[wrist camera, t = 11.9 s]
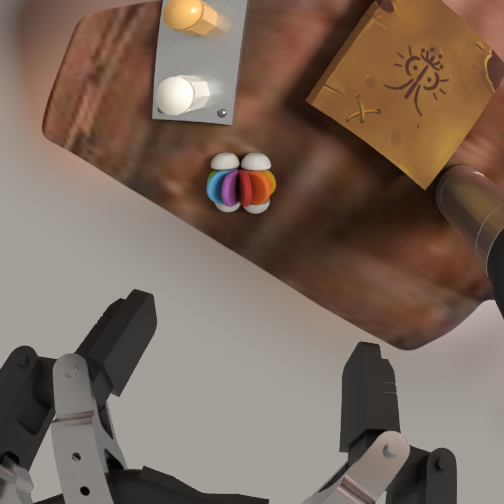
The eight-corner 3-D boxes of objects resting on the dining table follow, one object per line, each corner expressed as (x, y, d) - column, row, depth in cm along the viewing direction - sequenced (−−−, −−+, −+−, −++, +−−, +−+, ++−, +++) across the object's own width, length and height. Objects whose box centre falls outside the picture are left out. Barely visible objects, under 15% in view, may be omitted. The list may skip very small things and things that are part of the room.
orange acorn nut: (218, 4, 27) (203, -7, 22) (214, 35, 30) (198, 28, 25) (184, 5, 28) (165, -4, 23) (180, 35, 30) (160, 30, 25)
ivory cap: (204, 72, 33) (186, 71, 28) (212, 104, 35) (196, 108, 30) (172, 83, 34) (151, 84, 29) (180, 114, 37) (161, 120, 32)
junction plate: (253, -20, 26) (243, -35, 21) (234, 123, 38) (222, 130, 33) (170, -16, 27) (151, -26, 22) (157, 117, 39) (136, 124, 34)
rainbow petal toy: (276, 206, 44) (270, 229, 38) (214, 203, 45) (198, 224, 39) (277, 151, 39) (270, 164, 33) (210, 150, 41) (192, 163, 35)
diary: (387, -18, 22) (398, -32, 18) (487, 67, 25) (508, 68, 20) (305, 99, 35) (305, 101, 30) (412, 177, 37) (425, 191, 32)
